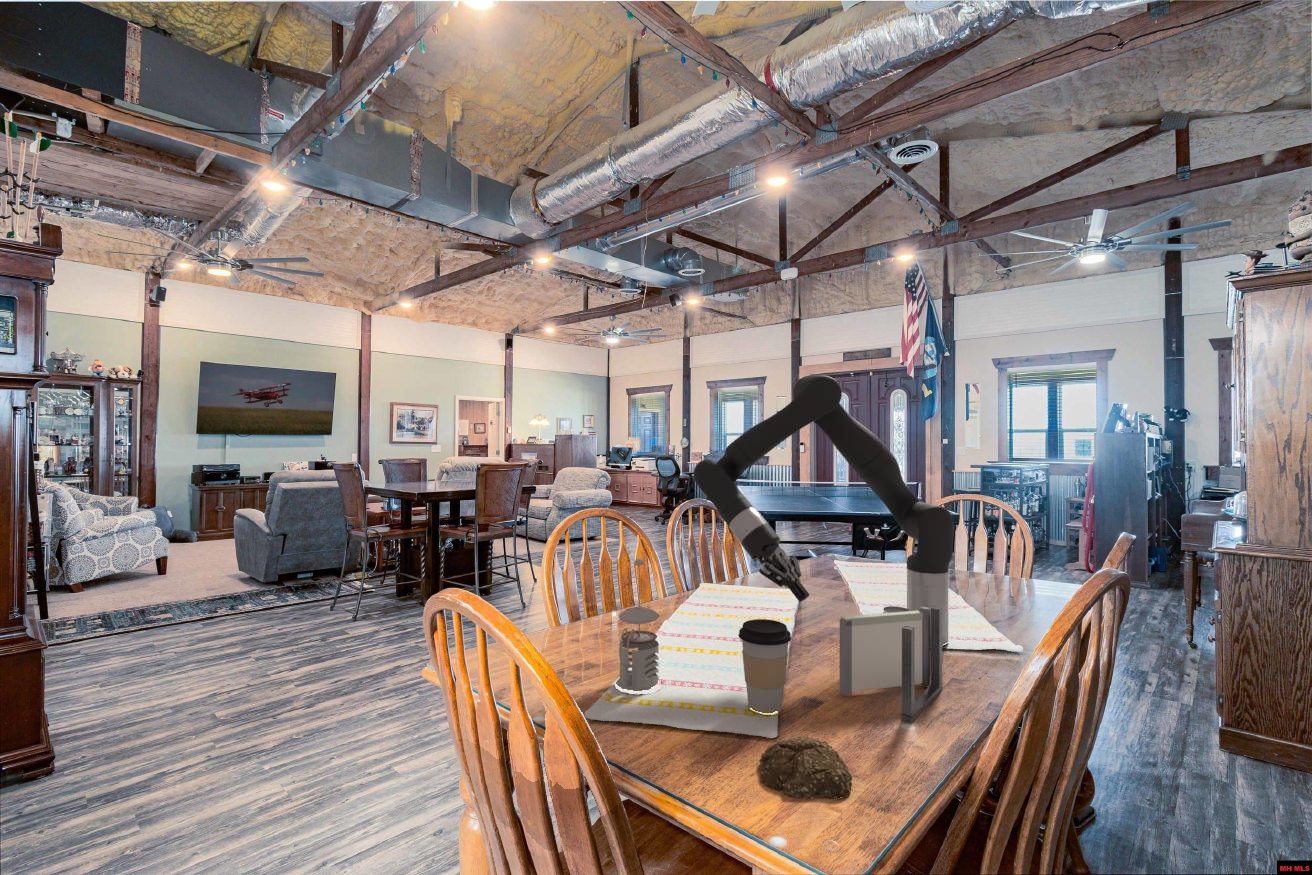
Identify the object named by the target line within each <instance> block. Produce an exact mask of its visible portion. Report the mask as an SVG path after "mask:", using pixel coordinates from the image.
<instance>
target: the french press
mask: <svg viewBox="0 0 1312 875" xmlns="http://www.w3.org/2000/svg"><path fill="white" fill-rule="evenodd" d="M634 565H635V566H638V606H633V607H629V608H627V609H625V610H624V611H622V612H621V613H619V615H618V618H619V620H620V621H621V622H623V623H626V624H633V625H635V624H636V625H638V630H635V628H633V629H631V631H628V629H627V627H624V629H623V631H622V632H621V635H620V639H619V644H618V645H619V646H618V657H619V678H618V679H617V680H616V682H615V683H616V684H617V685H618V686H619V687H621V688H622V689H627V690H633V691H642V690H649V689H651V687H653V686H655V685H656V684H657V683H658V680H659V679H660V677H659V675H658V674H659V669H658V668H659V662H657V661H659V658H660V657H659V656H658V655H657V654H659V653H660V652H659V650H660V649H659V645H660V644H659V642H658V641H657V640H656V639H657V638H658V635H657V634H656V633H654V631H651V630H650V631H649V630H641V627H640V626H641V625H642V624H648V623H653V622H655V621H657V620H658V619H659V617H660V614H659V613H658V612H657V611H656V610H654V609H653V608H649V607H645V606H644V607H643V606H641V604H640V603H641V595H640V594H641V566H644V565H645V561H644V560H643V559H642V558H637V559H635V560H634ZM630 649H631V651H630ZM634 649H637V650H634ZM629 656H631V657H629ZM630 662H631V663H630ZM657 667H658V668H657ZM629 669H631V670H629Z"/></svg>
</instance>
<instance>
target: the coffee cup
mask: <svg viewBox="0 0 1312 875" xmlns="http://www.w3.org/2000/svg"><path fill="white" fill-rule="evenodd" d="M738 638H739V639H741V643H742V650H741V651H742V653H741V654H742V662H743V663H742V664H743V672H744V681H745V686H746V694H747V703H748V704H747V705H748V708H749V707H750V708H752V709H753V710H755V711H758V712H762V713H773V712H775V711H778V713H777V714H779V713H780V712H782V708H783V700H784V699H783V698H784V690H785V685H786V680H787V669H788V661H789V660H788V659H789V651H788V650H789V642H790V641H792V636H791V632H790V630H788V626H787V625H786V624H785V623H784V622H781V621H778V620H773V619H765V618H762V619H761V618H759V619H758V618H756V619H749V620H746V621H744V622H743V623H742V627H740V629H739V631H738Z"/></svg>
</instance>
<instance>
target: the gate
mask: <svg viewBox="0 0 1312 875" xmlns="http://www.w3.org/2000/svg"><path fill="white" fill-rule="evenodd" d="M904 626H910V627H915V685H919V686H922V687H929V686H930V685H931V646H930V608H928V607H919V611H918V610H917V611H905V612H892V613H883V612H881V613H880V612H879V613H870V614H857V615H855V614H854V615H844V616H840V618H839V693H840V694H841V695H842V696H850V695H851V696H852V695H853V692H858V691H859V692H860V691H868V690H877V689H885V688H895V687H896V688H897V687H902V627H904Z"/></svg>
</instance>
